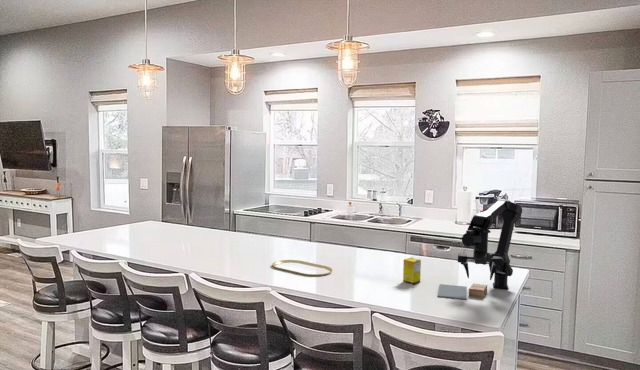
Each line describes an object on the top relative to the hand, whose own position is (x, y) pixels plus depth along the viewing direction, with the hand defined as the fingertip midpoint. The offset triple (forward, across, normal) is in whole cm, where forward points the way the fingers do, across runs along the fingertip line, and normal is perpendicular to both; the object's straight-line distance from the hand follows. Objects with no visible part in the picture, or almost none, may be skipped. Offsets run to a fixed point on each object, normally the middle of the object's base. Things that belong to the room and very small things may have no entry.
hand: (479, 278), depth 207 cm
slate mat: (+7, -11, -1) cm, 13 cm away
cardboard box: (+7, 0, 0) cm, 7 cm away
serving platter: (+7, -87, +14) cm, 88 cm away
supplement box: (+7, -30, +9) cm, 32 cm away
